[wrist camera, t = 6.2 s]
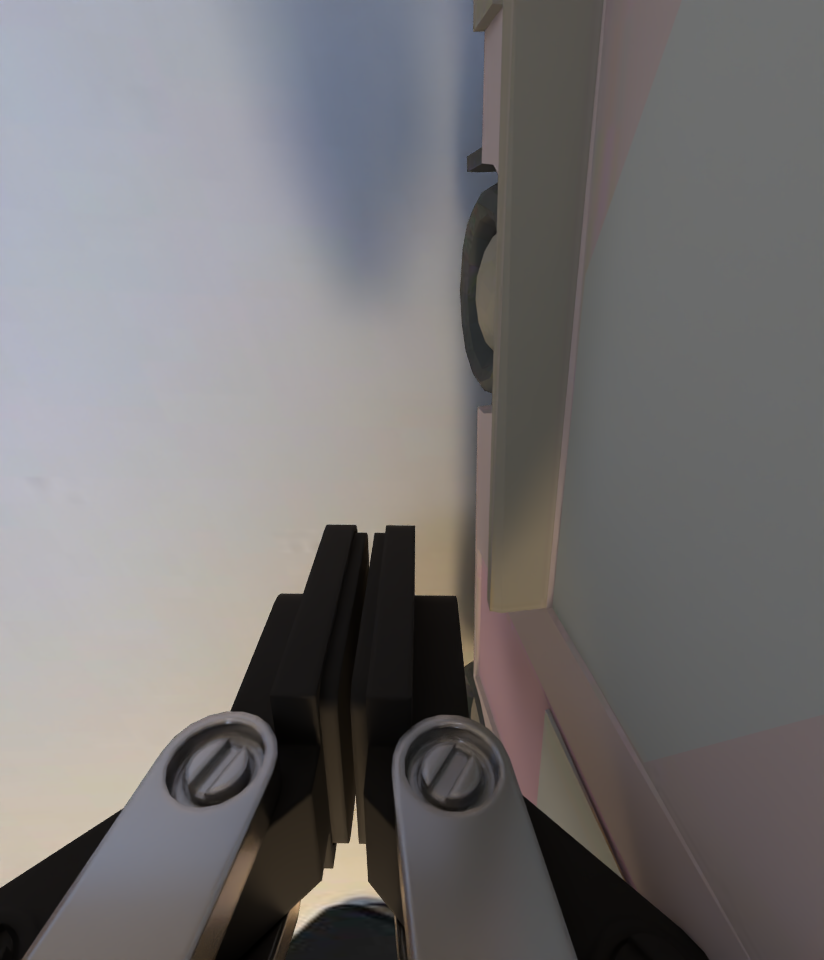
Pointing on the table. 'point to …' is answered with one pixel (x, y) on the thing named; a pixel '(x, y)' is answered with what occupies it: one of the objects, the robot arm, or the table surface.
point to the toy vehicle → (657, 446)
